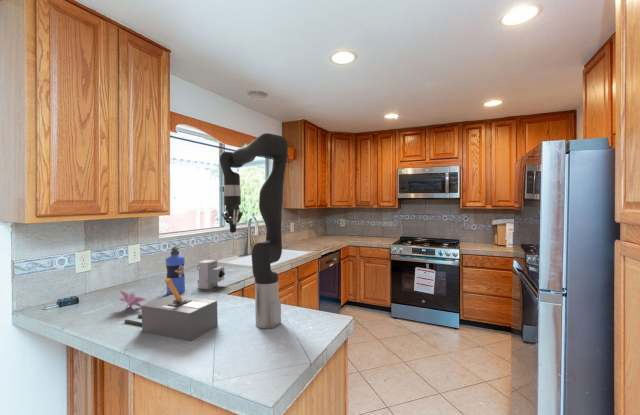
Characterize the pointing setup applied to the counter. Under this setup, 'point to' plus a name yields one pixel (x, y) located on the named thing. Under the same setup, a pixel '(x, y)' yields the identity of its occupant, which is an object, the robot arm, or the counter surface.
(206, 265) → the circuit breaker
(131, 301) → the lily
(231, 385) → the counter surface
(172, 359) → the counter surface
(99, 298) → the counter surface
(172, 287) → the breaker lever
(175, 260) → the water bottle
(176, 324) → the box
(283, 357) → the counter surface
